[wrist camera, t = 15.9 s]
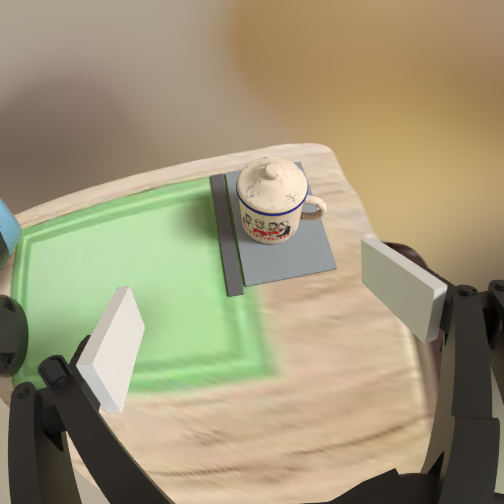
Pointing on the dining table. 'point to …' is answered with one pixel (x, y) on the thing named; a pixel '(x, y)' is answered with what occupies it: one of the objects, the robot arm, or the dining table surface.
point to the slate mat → (281, 246)
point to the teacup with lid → (274, 199)
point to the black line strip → (226, 237)
